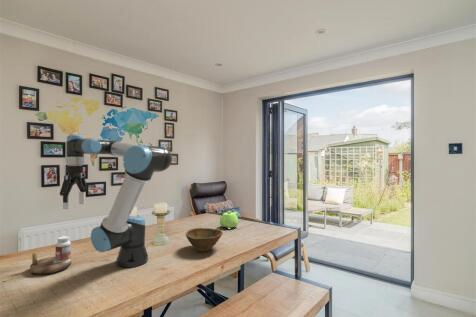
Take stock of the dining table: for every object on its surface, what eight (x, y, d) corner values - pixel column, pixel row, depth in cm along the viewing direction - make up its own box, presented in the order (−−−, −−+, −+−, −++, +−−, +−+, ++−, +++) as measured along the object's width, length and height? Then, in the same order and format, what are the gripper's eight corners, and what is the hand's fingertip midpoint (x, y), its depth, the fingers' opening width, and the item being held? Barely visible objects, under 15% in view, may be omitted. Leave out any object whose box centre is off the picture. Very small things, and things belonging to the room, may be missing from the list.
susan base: (71, 267, 129) (71, 265, 129) (42, 276, 119) (42, 274, 119) (58, 261, 135) (58, 260, 135) (30, 269, 125) (30, 268, 125)
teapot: (226, 231, 196) (227, 214, 196) (213, 228, 204) (214, 211, 204) (243, 226, 211) (243, 210, 211) (230, 223, 220) (231, 208, 220)
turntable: (73, 258, 137) (73, 244, 137) (67, 270, 123) (67, 255, 123) (35, 262, 131) (36, 248, 131) (24, 275, 116) (25, 260, 116)
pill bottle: (53, 260, 129) (53, 237, 129) (67, 256, 134) (68, 234, 134) (57, 263, 125) (58, 240, 125) (72, 260, 130) (72, 237, 130)
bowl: (230, 249, 159) (231, 232, 159) (200, 259, 143) (201, 240, 142) (206, 240, 174) (207, 225, 174) (177, 249, 157) (177, 232, 157)
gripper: (81, 164, 150) (80, 202, 150) (51, 165, 125) (50, 211, 125) (94, 164, 150) (94, 202, 150) (67, 166, 125) (66, 211, 125)
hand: (74, 206), depth 137 cm, fingers open, 13 cm apart
